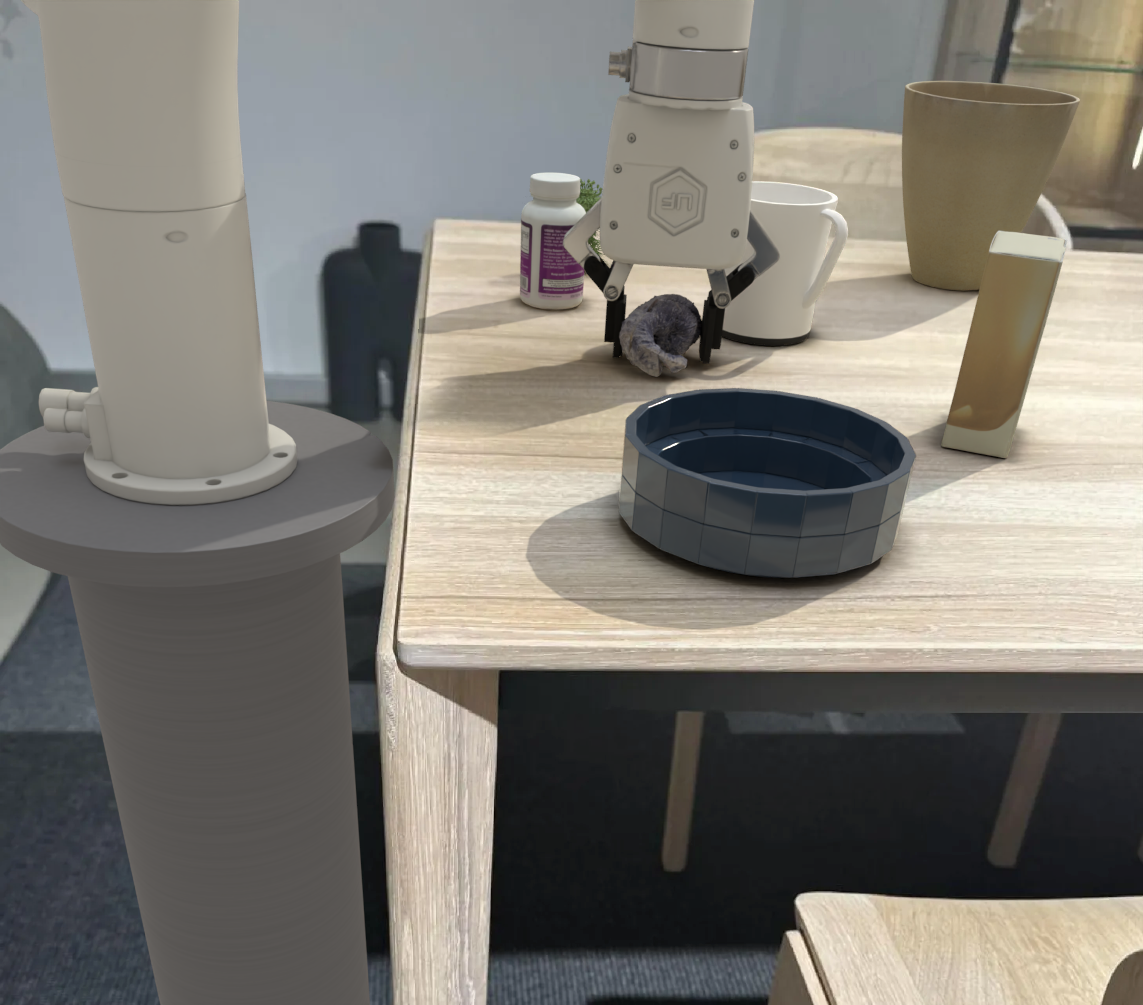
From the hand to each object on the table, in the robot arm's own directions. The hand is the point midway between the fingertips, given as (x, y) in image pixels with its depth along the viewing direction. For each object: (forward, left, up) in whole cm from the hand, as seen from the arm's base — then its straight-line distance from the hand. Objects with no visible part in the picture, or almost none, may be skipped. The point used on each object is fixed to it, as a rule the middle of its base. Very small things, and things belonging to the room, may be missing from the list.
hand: (661, 353), depth 88 cm
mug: (+9, +9, -1) cm, 13 cm away
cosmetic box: (+21, -12, -1) cm, 24 cm away
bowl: (+5, -28, -1) cm, 28 cm away
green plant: (-7, +26, -1) cm, 27 cm away
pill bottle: (-9, +14, -1) cm, 17 cm away
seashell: (0, 0, -1) cm, 1 cm away
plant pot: (+28, +31, -1) cm, 42 cm away
